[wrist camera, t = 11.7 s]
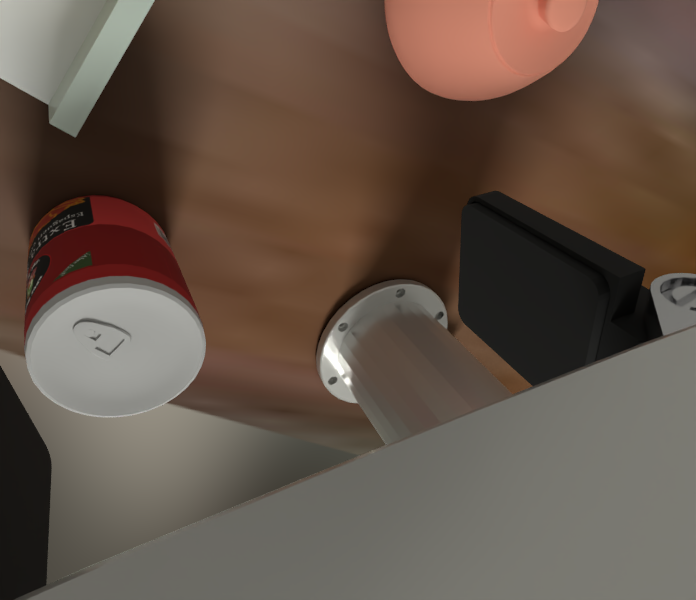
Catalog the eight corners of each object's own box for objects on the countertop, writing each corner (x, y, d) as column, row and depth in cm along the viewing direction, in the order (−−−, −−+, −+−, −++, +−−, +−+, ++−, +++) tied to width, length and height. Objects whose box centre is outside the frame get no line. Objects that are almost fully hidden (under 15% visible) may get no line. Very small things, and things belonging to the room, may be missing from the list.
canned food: (58, 167, 30) (65, 258, 22) (190, 223, 35) (236, 313, 27) (6, 280, 32) (-6, 403, 24) (138, 318, 37) (165, 430, 29)
